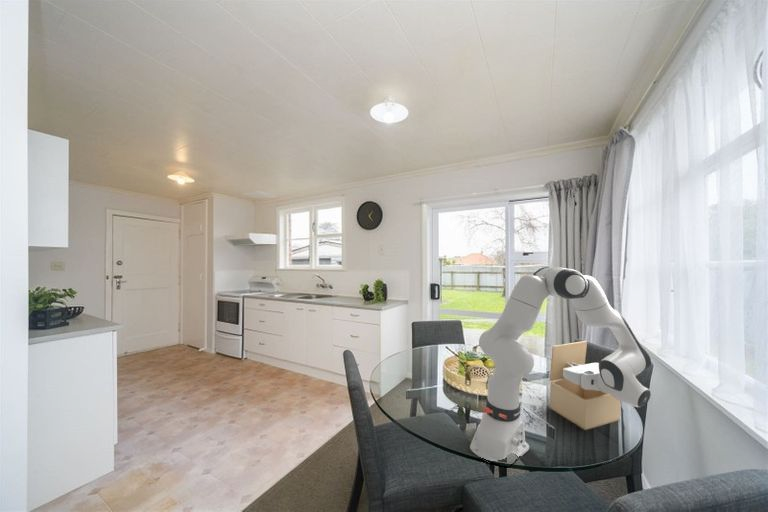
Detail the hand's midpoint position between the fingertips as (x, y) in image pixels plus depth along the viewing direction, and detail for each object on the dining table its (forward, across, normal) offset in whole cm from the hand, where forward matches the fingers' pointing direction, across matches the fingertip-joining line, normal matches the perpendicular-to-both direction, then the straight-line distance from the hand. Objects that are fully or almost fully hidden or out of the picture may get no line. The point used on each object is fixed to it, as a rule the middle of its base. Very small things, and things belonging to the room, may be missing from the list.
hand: (569, 364), depth 131 cm
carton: (-8, 0, +18) cm, 20 cm away
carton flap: (0, 0, -2) cm, 2 cm away
